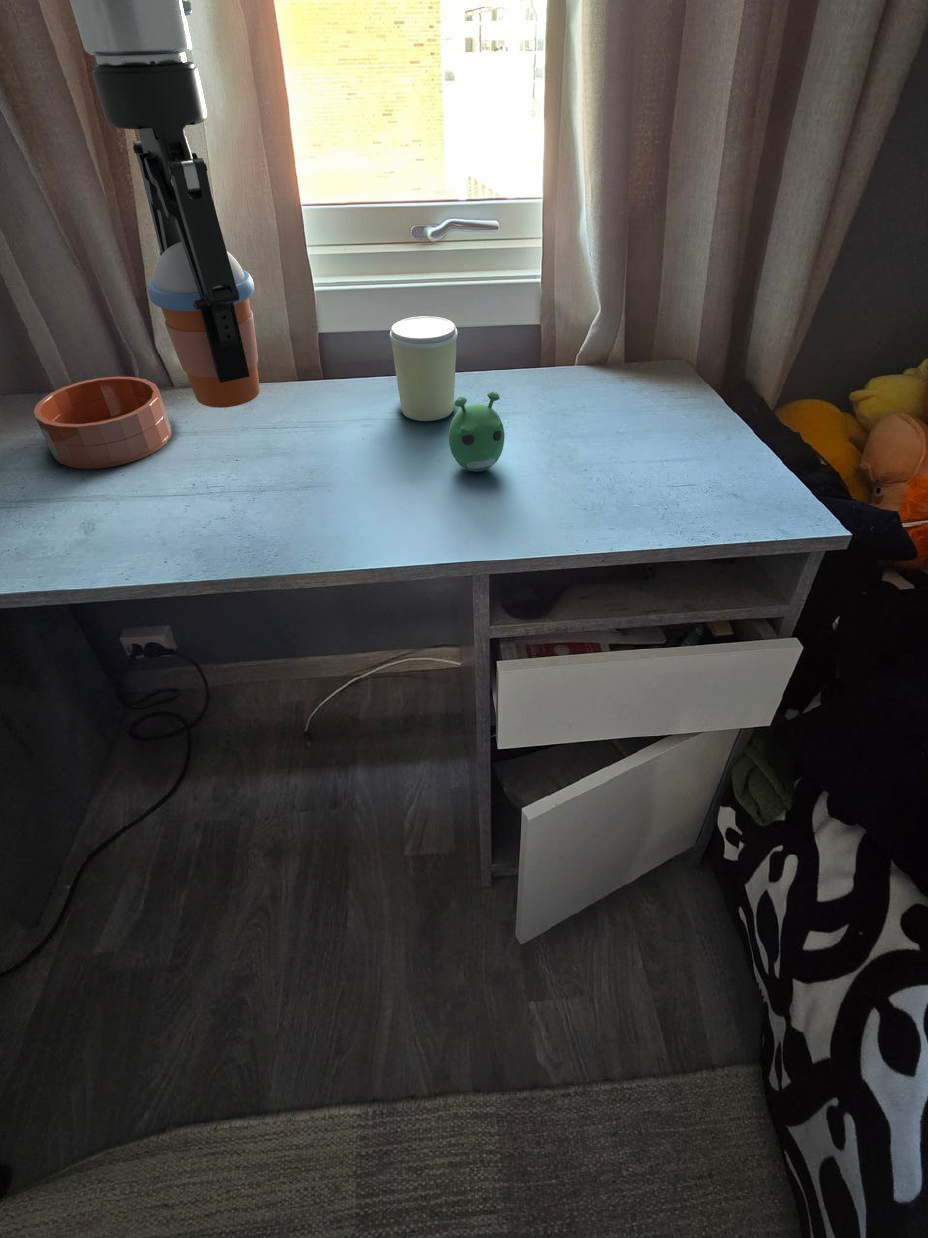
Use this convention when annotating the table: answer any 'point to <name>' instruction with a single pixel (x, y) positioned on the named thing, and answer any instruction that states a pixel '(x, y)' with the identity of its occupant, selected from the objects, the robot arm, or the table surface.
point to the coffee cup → (425, 366)
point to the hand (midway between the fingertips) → (218, 360)
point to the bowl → (104, 422)
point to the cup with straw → (203, 329)
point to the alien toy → (476, 434)
